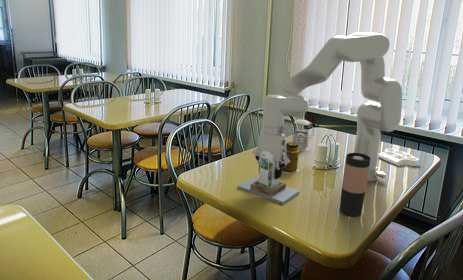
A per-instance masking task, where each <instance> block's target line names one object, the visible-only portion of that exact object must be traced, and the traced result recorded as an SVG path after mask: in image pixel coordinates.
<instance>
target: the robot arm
mask: <svg viewBox="0 0 463 280" xmlns="http://www.w3.org/2000/svg"><path fill="white" fill-rule="evenodd" d="M389 49H390V40H389V38H388V36H386V35H385V34H383V33H377V32H353V33H352V34H350V35H336V36H335V35H334V36H332V37H330V38H329V39H328V40H327V41H326V43H324V46H323V47H322V48H321V49H320V50H319V51H318V53H317V54H316V56H315V57H314V58H313V59H312V60H311V62H310V63H309V64H308V65H307V66H306V67H304V68H302V69H301V70H299V71H298V72H297V73H296V74H295V73H294V75H292V76H291V77H290V78H289V79H287V81H286V82H284V84H283V85H282V87H281V88H280V89H279V90H278V92H277V94H267V95H266V96H264V99H263V109H262V110H263V112H262V127H261V131H260V133H259V137H258V141H257V147H256V148H255V149H254V150H253V151H252V154H253V156H254V158H255V159H256V162H257V164H258V173H259V172H260V156H261V153H262V152H263V151H266V152H270V153H273V155H274V162H275V164H276V168H277V169H275V179H276V180H277V179H278V178H281V177H282V173H283V172H282V168H283V167H284V166H286V165H287V164H288V163H290V160H289V158H288V157H287V155H286V143H287V139H286V138H287V137H286V133H287V129H286V128H285V123H284V121H285V117H286V116H287V117H301V116H304V114H306V113H307V111H309V110H308V109H309V102H308V100H307V99H306V98H305V97H304V96H302V95H299V94H300V93H301V92H303V91H304V90H305V89H307V88H309V87H311V86H315V85H319V84H322V83H324V82H326V81H328V80H329V78H330V77H331V76H332V74H333V73H334V72H335V70H336V69H337V68H338V66H339V65H340V64H341V63H342V62H347V63H348V62H349V63H357V62H359V63H360V73H361V75H360V77H361V79H360V91H361V93H360V94H361V96H362V97H363V98H364V99H366V100H370V101H366V102H364V103H362V104H360V105H359V107H358V109H357V112H356V122H357V123H356V136H355V143H354V151H353V153H361V154H365V155H367V156H369V157H370V158H371V160H370V166H369V173H368V179H367V182H375V181H377V180H378V179H379V178H382V179H385V178H386V176H387V175H386V173H385V172H384V171H382V170H381V171H380V170H379V169H378V168H379V166H377V163H378V158H379V157H378V154H379V153H380V152H379V151H380V144H381V140H382V135H381V134H382V133H381V131H383V132H388V133H389V132H390V133H391V132H393V131H395V130H396V129H398V127H399V125H400V123H401V118H402V105H403V104H402V103H403V89H402V85H401V84H400V83H399V81H397V80H396V79H394V78H389V77H386V74H385V73H386V70H385V69H386V67H385V66H386V65H385V58H384V56H385V55H386V54H387V53H388V51H389ZM281 159H282V160H284V161H282V160H281Z"/></svg>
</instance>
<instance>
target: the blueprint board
mask: <svg viewBox="0 0 463 280" xmlns="http://www.w3.org/2000/svg"><path fill="white" fill-rule="evenodd" d="M257 180H259V176H254V177H252V178H250V179H248V180H246V181H244V182H242V183H240V184H238V185H237V189H239V190H242V191H244V192H247V193H249V194H253V195H255V196H257V197H258V196H259V197H261V198H264V199H266V200H270V201H272V202H275V203H278V204H281V205H284V204H286V203H287V202H289V201H290V200H292V199H293V198H294V197H296V196H297V195H299V194H300V190H298V189H295V188H292V187H288V186H286V188H285V189H283V190H282V191H280V192H278V193H277V194H275V195H273V196H270V195H267V194H264V193H262V192H259V191H256V190H253V189H250V188H251V183H253V182H255V181H257ZM272 190H273V189H272Z"/></svg>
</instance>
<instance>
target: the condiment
mask: <svg viewBox="0 0 463 280" xmlns="http://www.w3.org/2000/svg"><path fill="white" fill-rule="evenodd" d="M299 153H300V151H299V150H298V144H297V143H295V142H293V141H290V142H289V141H287V142H286V155H287V157H288V158H289V160H290V163H288V164H287V165H286V166H284V167H283V168H282V172H281V173H283V174H285V175H289V174H292V173H294V174H295V173H298V172H301V171H302V170H300V169H299V168H298V163H299Z"/></svg>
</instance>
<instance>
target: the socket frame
mask: <svg viewBox="0 0 463 280" xmlns="http://www.w3.org/2000/svg"><path fill="white" fill-rule="evenodd" d="M286 187H287V183H286V182H284V181H281V180H279V186H278V187H276V188H274V189H273V190H271V189H268V188H265V187H262V186H259V180H257V181H255V182H253V183H251V188H250V189H253V190H256V191H259V192H262V193H264V194H267V195H270V196H273V195H275V194H277V193H278V192H280V191H282V190H283V189H285V188H286Z"/></svg>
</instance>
